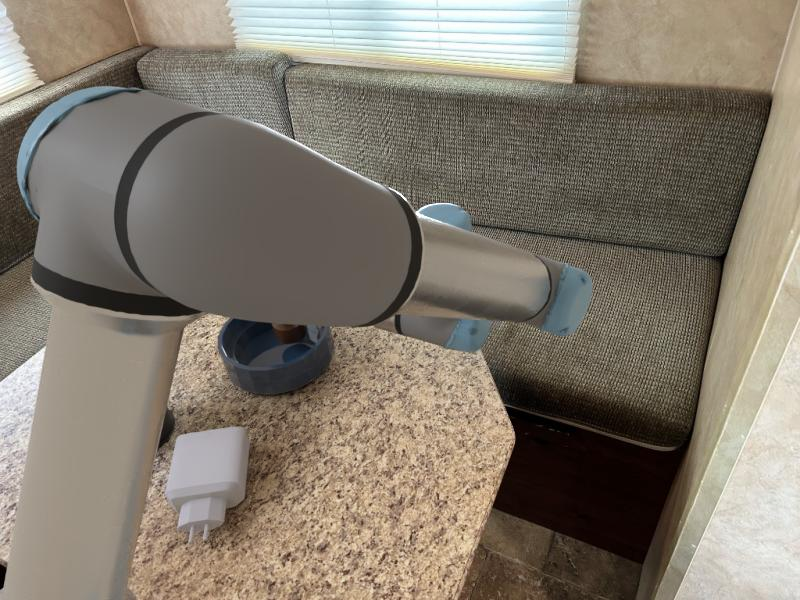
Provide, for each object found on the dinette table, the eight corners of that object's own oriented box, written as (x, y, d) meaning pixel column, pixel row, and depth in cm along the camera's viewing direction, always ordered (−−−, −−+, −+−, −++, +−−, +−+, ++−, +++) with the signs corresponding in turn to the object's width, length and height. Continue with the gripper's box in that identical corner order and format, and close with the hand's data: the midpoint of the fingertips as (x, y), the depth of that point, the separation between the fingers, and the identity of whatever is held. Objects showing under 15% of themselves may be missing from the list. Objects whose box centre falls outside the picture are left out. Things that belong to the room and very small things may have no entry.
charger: (165, 558, 73) (185, 456, 85) (241, 546, 73) (251, 446, 85) (151, 537, 70) (174, 434, 82) (231, 525, 70) (242, 424, 82)
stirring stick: (289, 348, 96) (256, 235, 82) (269, 335, 98) (235, 224, 85) (313, 331, 98) (285, 218, 85) (293, 319, 101) (263, 208, 88)
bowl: (273, 416, 89) (263, 388, 85) (206, 365, 99) (195, 338, 95) (356, 349, 98) (351, 321, 95) (288, 309, 108) (281, 282, 104)
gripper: (354, 358, 81) (219, 317, 90) (407, 289, 91) (280, 259, 101) (346, 315, 76) (204, 276, 85) (402, 247, 86) (270, 220, 96)
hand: (245, 267), depth 93 cm, fingers closed on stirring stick, 3 cm apart
